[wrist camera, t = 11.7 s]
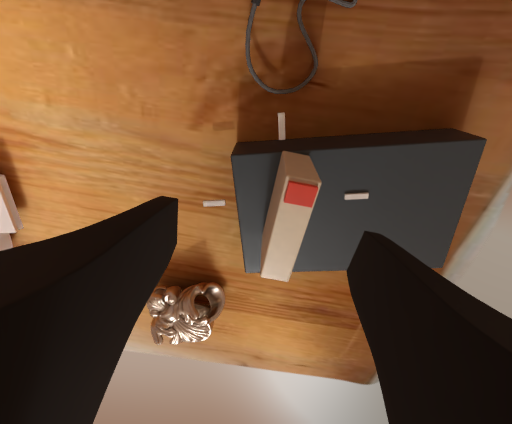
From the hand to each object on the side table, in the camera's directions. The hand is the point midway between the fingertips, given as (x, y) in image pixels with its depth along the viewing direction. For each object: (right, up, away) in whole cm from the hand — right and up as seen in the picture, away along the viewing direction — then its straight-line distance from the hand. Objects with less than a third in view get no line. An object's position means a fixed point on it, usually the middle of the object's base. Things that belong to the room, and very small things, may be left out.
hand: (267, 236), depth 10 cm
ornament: (-7, -7, +15) cm, 18 cm away
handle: (+1, +2, +6) cm, 6 cm away
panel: (+4, +3, +9) cm, 10 cm away
